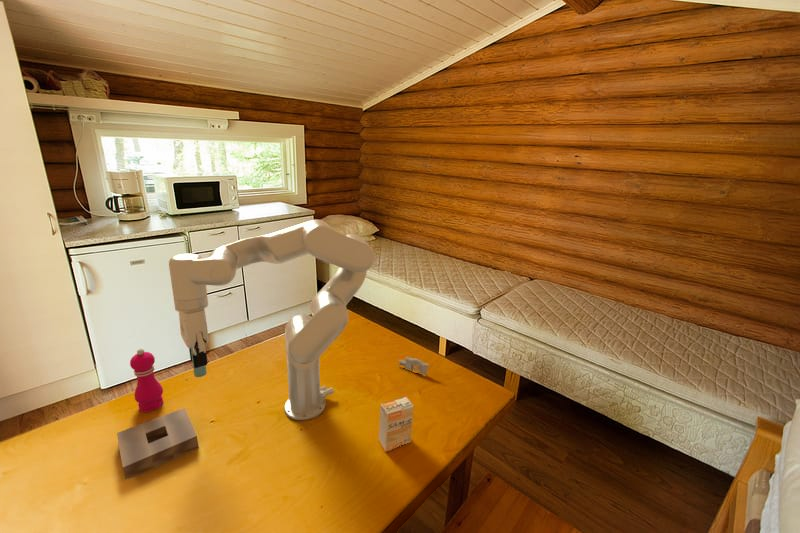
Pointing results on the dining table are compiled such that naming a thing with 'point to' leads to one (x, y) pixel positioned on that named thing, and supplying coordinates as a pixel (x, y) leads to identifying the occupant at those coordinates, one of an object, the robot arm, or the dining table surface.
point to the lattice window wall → (411, 362)
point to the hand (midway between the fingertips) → (199, 362)
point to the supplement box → (395, 423)
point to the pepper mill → (146, 382)
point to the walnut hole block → (156, 442)
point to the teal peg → (200, 370)
